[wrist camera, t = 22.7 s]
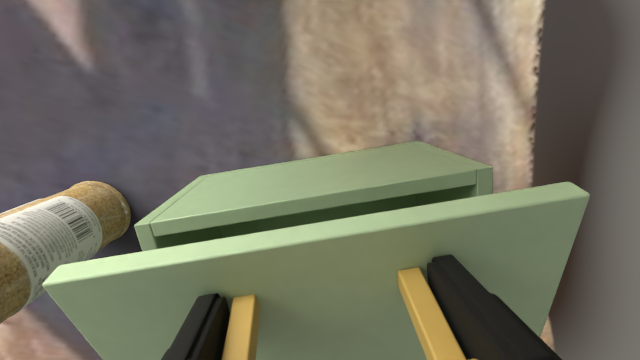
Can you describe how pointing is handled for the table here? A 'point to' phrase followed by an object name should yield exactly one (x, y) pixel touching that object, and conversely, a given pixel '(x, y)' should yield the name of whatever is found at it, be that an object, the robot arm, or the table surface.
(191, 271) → the lid
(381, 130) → the table surface
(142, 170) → the table surface
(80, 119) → the table surface
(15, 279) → the sprinkles bottle
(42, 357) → the table surface
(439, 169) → the bread box
